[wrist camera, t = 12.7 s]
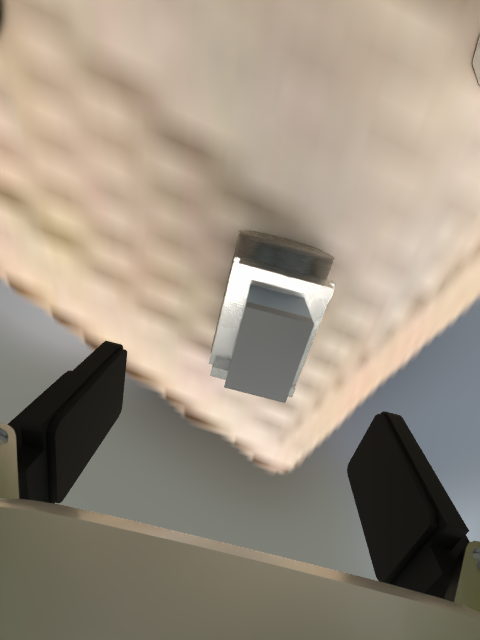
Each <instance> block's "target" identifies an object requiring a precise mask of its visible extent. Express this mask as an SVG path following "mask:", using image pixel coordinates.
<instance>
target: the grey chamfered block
mask: <svg viewBox="0 0 480 640" xmlns="http://www.w3.org/2000/svg"><path fill="white" fill-rule="evenodd" d="M313 327H314V322H313V320H312V317H311V314H310V312H309V309H308V306H307V304H306V301H305V298H301V297H297V296H293V295H289V294H285V293H281V292H277V291H274V290H270V289H266V288H262V287H258V286H254V285H250V287H249V291H248V295H247V299H246V302H245V306H244V310H243V314H242V318H241V321H240V325H239V329H238V333H237V337H236V340H235V344H234V348H233V352H232V356H231V360H230V365H229V369H228V373H227V377H226V382H225V386H224V387H225V388H229V389H233V390H237V391H241V392H244V393H248V394H252V395H256V396H260V397H264V398H268V399H272V400H276V401H280V402H284V403H285V402H286V399H287V397H288V394H289V391H290V389H291V386H292V383H293V381H294V378H295V375H296V373H297V370H298V367H299V365H300V362H301V359H302V356H303V354H304V351H305V348H306V346H307V343H308V340H309V338H310V335H311V332H312V330H313Z"/></svg>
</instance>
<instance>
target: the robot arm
mask: <svg viewBox="0 0 480 640" xmlns="http://www.w3.org/2000/svg"><path fill="white" fill-rule="evenodd" d="M126 359H127V351H126V350H124V349H123V346H122V345H121V344H117V343H113V342H109V341H105V342H104V343H102V344H101V345H100V346H99V347H98V348H97V349H96V350H95V351H94V352H93V353H92V354H90V356H88V357H87V358H86V359H85V360H84V361H83V362H82V363H81V364H80V365H78V366H77V367H76V368H75V369H74V370H73V371H67V372H66V373H65V374H63V375H62V376H61V377H60V378H59V379H58V380H57V381H56V382H54V383H53V384H52V385H51V386H50V387H49V388H48V389H47V390H46V391H44V392H43V393H42V394H41V395H40V396H39V397H38V398H37V399H35V400H34V401H33V402H32V403H31V404H30V405H29V406H28V407H27V408H25V409H24V410H23V411H22V412H21V413H20V414H19V415H18V416H16V417H15V418H14V419H13V420H12V421H11V422H10V423H9V424H4V423H0V640H480V542H478V541H473V542H469V540H468V538H467V536H466V534H467V532H468V531H469V530H468V528H467V527H466V525H465V523H464V521H463V520H462V518H461V516H460V515H459V513H458V511H457V510H456V508H455V506H454V505H453V503H452V501H451V500H450V498H449V496H448V494H447V493H446V491H445V489H444V487H443V486H442V484H441V483H440V481H439V479H438V477H437V476H436V474H435V472H434V471H433V469H432V467H431V466H430V464H429V462H428V461H427V459H426V457H425V455H424V454H423V452H422V450H421V449H420V447H419V445H418V443H417V442H416V440H415V438H414V437H413V435H412V433H411V432H410V430H409V428H408V426H407V425H406V423H405V421H404V420H403V418H402V417H401V416H400V415H397V414H393V413H388V412H382V413H381V414H377V415H376V416H375V417H374V419H373V421H372V423H371V424H370V426H369V428H368V430H367V432H366V434H365V435H364V437H363V439H362V441H361V443H360V444H359V446H358V448H357V449H356V451H355V453H354V455H353V457H352V458H351V460H350V462H349V464H348V468H347V473H348V477H349V481H350V485H351V488H352V492H353V495H354V499H355V502H356V506H357V509H358V513H359V517H360V520H361V524H362V528H363V531H364V535H365V539H366V542H367V546H368V549H369V553H370V557H371V560H372V564H373V567H374V571H375V574H376V577H377V579H378V581H375V580H371V579H367V578H363V577H360V576H355V575H352V574H348V573H343V572H340V571H336V570H332V569H328V568H324V567H320V566H316V565H312V564H308V563H304V562H300V561H295V560H291V559H288V558H284V557H280V556H276V555H271V554H267V553H263V552H259V551H255V550H251V549H247V548H243V547H239V546H234V545H230V544H227V543H222V542H218V541H214V540H210V539H206V538H202V537H198V536H193V535H190V534H185V533H181V532H177V531H172V530H169V529H164V528H160V527H156V526H152V525H148V524H144V523H139V522H135V521H131V520H127V519H123V518H118V517H114V516H109V515H105V514H100V513H95V512H91V511H87V510H82V509H78V508H73V507H68V506H64V505H59V504H55V503H60V502H62V501H63V499H64V498H65V497H66V495H67V493H68V492H69V490H70V489H71V488H72V486H73V484H74V483H75V482H76V480H77V478H78V477H79V475H80V474H81V472H82V471H83V469H84V468H85V466H86V465H87V463H88V462H89V460H90V459H91V457H92V456H93V454H94V453H95V451H96V450H97V448H98V447H99V445H100V444H101V442H102V441H103V439H104V438H105V436H106V435H107V433H108V432H109V430H110V429H111V427H112V426H113V424H114V423H115V421H116V420H117V418H118V417H119V415H120V413H121V409H122V403H123V392H124V381H125V370H126Z"/></svg>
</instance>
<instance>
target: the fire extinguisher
mask: <svg viewBox="0 0 480 640" xmlns="http://www.w3.org/2000/svg"><path fill="white" fill-rule="evenodd" d="M472 64H473V67H474V70H475V74H476V77H477V80H478V83H479V85H480V37H479V40H478V44H477V48H476V51H475V55H474V58H473V62H472Z"/></svg>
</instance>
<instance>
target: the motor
mask: <svg viewBox="0 0 480 640" xmlns="http://www.w3.org/2000/svg"><path fill="white" fill-rule="evenodd" d="M333 260H334V257H333V256H331V255H329V254H328V253H325V252H323V251H321V250H318V249H316V248H313V247H310V246H307V245H304V244H301V243H298V242H295V241H291V240H288V239H284V238H281V237H277V236H273V235H268V234H264V233H259V232H253V231H240V232H239V236H238V240H237V244H236V249H235V253H234V257H233V261H232V265H231V269H230V273H229V278H228V282H227V286H226V290H225V294H224V298H223V302H222V306H221V311H220V315H219V319H218V323H217V327H216V331H215V335H214V340H213V344H212V348H211V357H210V361H209V364H212V365H213V366H212V370H211V374H210V376H213V377H217V378H221V379H224V380H226V377H227V373H228V369H229V365H230V360H231V356H232V352H233V348H234V344H235V340H236V337H237V333H238V329H239V325H240V321H241V318H242V314H243V310H244V306H245V302H246V299H247V295H248V291H249V287H250V285H254V286H258V287H262V288H266V289H270V290H274V291H277V292H281V293H285V294H289V295H293V296H297V297H301V298H305V301H306V304H307V306H308V309H309V312H310V314H311V317H312V320H313V322H314V327H313V330H312V332H311V335H310V338H309V340H308V343H307V346H306V348H305V351H304V354H303V356H302V359H301V362H300V365H299V367H298V370H297V373H296V375H295V378H294V381H293V383H292V386H291V389H290V391H289V394H288V396H289V397H292V396H293V393H294V391H295V386H296V383H297V381H298V378H299V376H300V373H301V370H302V368H303V365H304V363H305V360H306V358H307V355H308V353H309V350H310V347H311V345H312V342H313V340H314V337H315V335H316V332H317V330H318V327H319V324H320V322H321V319H322V317H323V314H324V312H325V309H326V307H327V304H328V301H329V300H330V299H331V297H332V294H333V292H334V286H335V283H334V282H333V281H330V280H326V279H327V276H328V273H329V271H330V268H331V265H332V263H333Z"/></svg>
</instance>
